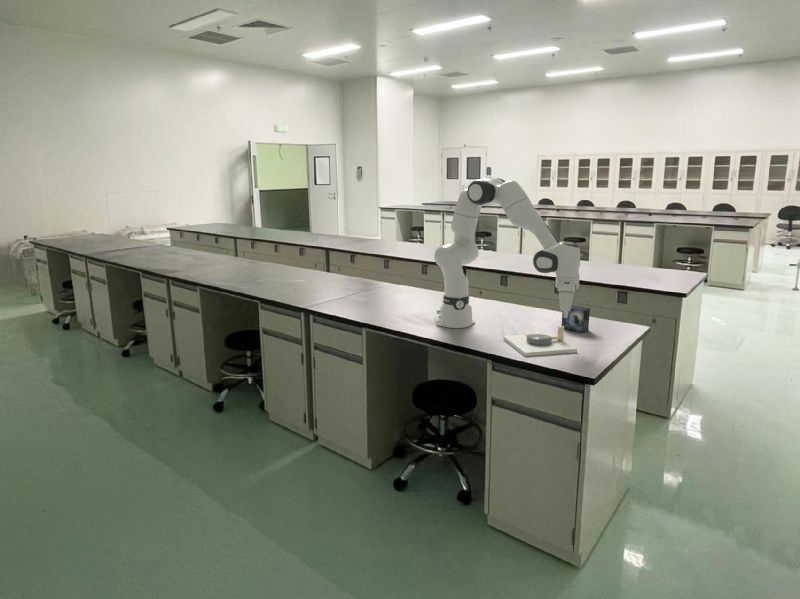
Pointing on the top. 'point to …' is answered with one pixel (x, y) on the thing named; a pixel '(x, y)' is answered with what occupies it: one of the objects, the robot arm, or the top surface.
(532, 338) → the dial
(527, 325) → the top surface
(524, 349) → the dial plate
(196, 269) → the top surface
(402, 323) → the top surface
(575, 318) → the small box
